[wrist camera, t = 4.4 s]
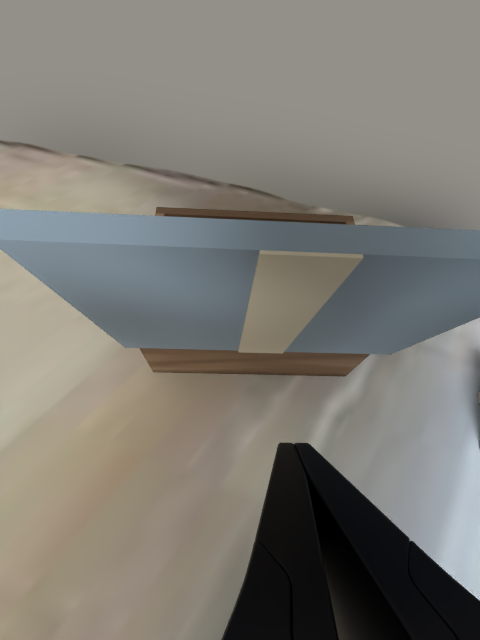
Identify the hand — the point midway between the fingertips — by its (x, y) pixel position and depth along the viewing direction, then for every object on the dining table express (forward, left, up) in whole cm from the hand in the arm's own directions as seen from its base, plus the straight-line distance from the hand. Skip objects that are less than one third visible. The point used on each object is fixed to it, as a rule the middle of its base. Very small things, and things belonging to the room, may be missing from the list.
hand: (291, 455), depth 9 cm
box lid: (+5, -3, -1) cm, 6 cm away
